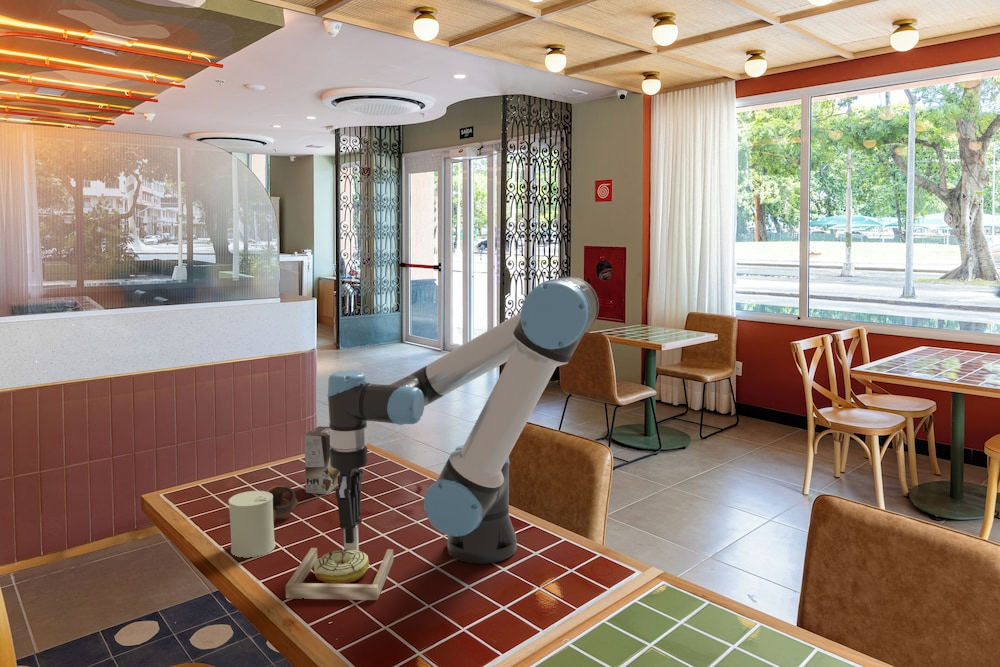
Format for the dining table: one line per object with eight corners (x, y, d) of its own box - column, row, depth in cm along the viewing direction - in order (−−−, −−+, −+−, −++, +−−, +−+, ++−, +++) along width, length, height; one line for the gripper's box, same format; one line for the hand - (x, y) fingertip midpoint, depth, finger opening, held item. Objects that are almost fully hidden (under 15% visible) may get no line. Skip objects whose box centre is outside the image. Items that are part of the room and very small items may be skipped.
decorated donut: (324, 561, 148) (323, 544, 148) (374, 563, 147) (374, 546, 147) (307, 586, 138) (306, 568, 137) (360, 588, 137) (360, 570, 136)
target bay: (393, 560, 148) (393, 549, 148) (377, 600, 132) (377, 587, 132) (311, 559, 149) (311, 547, 149) (285, 598, 133) (285, 585, 132)
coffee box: (327, 495, 185) (325, 435, 183) (305, 493, 186) (302, 434, 184) (342, 483, 194) (340, 426, 192) (320, 481, 195) (318, 425, 193)
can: (261, 559, 148) (258, 505, 147) (222, 555, 150) (219, 502, 149) (283, 541, 157) (281, 490, 156) (245, 537, 159) (243, 487, 158)
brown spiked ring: (300, 507, 178) (303, 485, 174) (289, 537, 171) (292, 515, 166) (252, 496, 177) (255, 474, 173) (239, 526, 169) (241, 504, 165)
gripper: (339, 437, 151) (342, 540, 155) (321, 456, 138) (325, 569, 142) (373, 437, 151) (376, 541, 154) (358, 456, 138) (361, 570, 141)
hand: (351, 554), depth 148 cm, fingers closed
